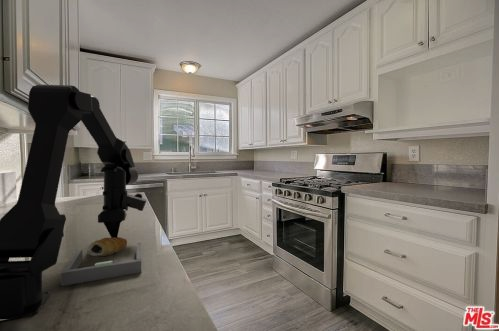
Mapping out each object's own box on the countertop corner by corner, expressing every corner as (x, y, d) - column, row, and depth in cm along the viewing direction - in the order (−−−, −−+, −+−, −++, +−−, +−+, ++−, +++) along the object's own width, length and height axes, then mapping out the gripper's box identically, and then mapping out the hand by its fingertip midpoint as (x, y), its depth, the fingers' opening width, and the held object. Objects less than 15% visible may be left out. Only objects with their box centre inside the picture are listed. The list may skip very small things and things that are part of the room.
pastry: (114, 244, 69) (115, 231, 69) (134, 246, 68) (134, 233, 68) (84, 255, 60) (85, 241, 60) (106, 259, 59) (106, 243, 59)
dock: (141, 272, 51) (141, 257, 51) (60, 286, 45) (60, 269, 45) (141, 251, 63) (141, 240, 63) (77, 260, 57) (77, 247, 57)
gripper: (145, 189, 65) (145, 245, 65) (144, 184, 82) (144, 229, 82) (97, 190, 60) (97, 251, 60) (107, 185, 77) (106, 232, 77)
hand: (114, 239), depth 70 cm, fingers closed
